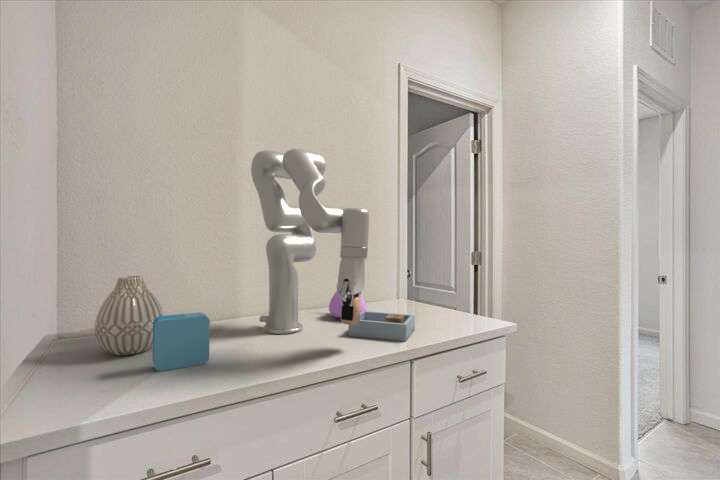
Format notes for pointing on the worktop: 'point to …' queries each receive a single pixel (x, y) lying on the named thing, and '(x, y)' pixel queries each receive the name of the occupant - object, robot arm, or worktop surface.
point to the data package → (180, 341)
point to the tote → (382, 326)
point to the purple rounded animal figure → (336, 304)
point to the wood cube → (395, 318)
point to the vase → (127, 317)
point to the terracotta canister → (354, 312)
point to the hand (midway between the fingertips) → (350, 316)
